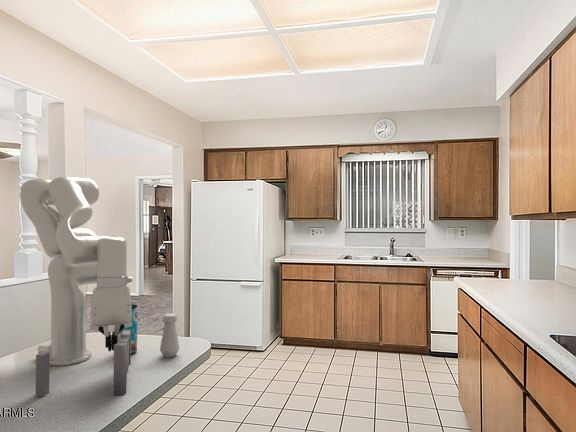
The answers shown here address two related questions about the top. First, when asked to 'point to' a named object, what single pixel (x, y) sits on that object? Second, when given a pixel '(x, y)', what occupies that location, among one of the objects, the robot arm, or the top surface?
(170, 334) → the salt shaker
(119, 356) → the hinge post
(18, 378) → the top surface
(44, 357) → the post
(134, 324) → the beverage can
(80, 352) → the robot arm
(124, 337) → the gate
